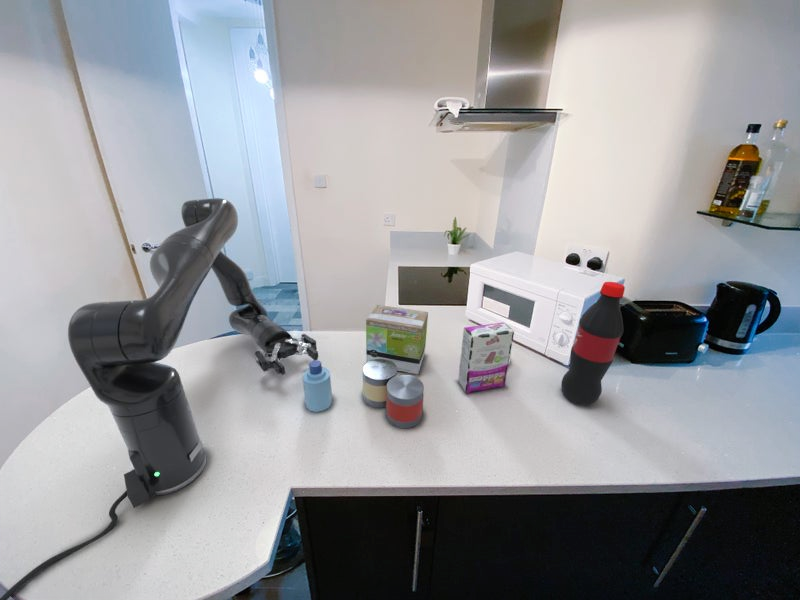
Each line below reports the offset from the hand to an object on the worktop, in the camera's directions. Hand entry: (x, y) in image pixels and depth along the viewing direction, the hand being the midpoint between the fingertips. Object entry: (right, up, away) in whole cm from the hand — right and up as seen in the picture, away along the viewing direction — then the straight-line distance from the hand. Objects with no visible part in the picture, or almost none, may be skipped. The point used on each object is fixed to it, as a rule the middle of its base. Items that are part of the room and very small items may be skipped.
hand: (300, 363), depth 75 cm
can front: (+25, -11, -5) cm, 27 cm away
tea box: (+23, -2, +14) cm, 27 cm away
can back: (+19, -8, +1) cm, 21 cm away
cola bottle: (+68, -9, +3) cm, 68 cm away
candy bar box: (+45, -7, +6) cm, 45 cm away
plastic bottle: (+5, -9, -2) cm, 10 cm away
